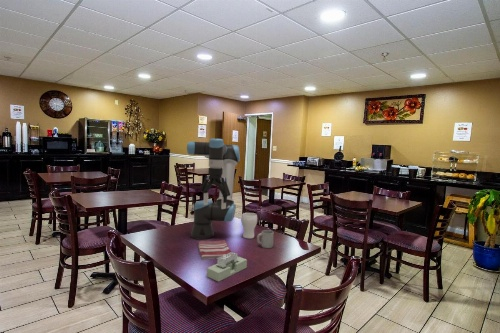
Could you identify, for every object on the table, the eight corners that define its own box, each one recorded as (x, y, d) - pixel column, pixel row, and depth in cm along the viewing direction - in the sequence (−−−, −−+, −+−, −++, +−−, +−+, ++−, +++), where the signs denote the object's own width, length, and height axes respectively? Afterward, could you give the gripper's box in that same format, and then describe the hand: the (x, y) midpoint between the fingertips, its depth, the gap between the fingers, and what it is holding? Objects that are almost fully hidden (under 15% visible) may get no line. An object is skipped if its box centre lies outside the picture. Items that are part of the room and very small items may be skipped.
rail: (218, 281, 124) (218, 272, 124) (206, 276, 129) (207, 267, 129) (246, 267, 140) (246, 259, 140) (235, 263, 145) (235, 255, 144)
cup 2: (273, 248, 168) (274, 233, 167) (256, 247, 168) (257, 233, 167) (272, 244, 175) (273, 230, 174) (256, 243, 175) (257, 229, 174)
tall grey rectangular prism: (222, 274, 129) (223, 259, 129) (217, 272, 131) (217, 257, 131) (236, 267, 137) (237, 253, 137) (231, 265, 139) (231, 251, 139)
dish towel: (225, 243, 175) (225, 239, 174) (232, 258, 152) (233, 253, 152) (197, 244, 170) (197, 240, 170) (201, 260, 148) (201, 255, 147)
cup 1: (259, 237, 186) (260, 215, 185) (246, 240, 180) (247, 217, 179) (250, 233, 195) (251, 211, 194) (237, 235, 189) (238, 213, 188)
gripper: (194, 166, 156) (193, 203, 157) (228, 169, 141) (226, 211, 142) (204, 165, 162) (203, 202, 163) (237, 169, 146) (236, 209, 148)
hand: (214, 206), depth 153 cm, fingers open, 13 cm apart
